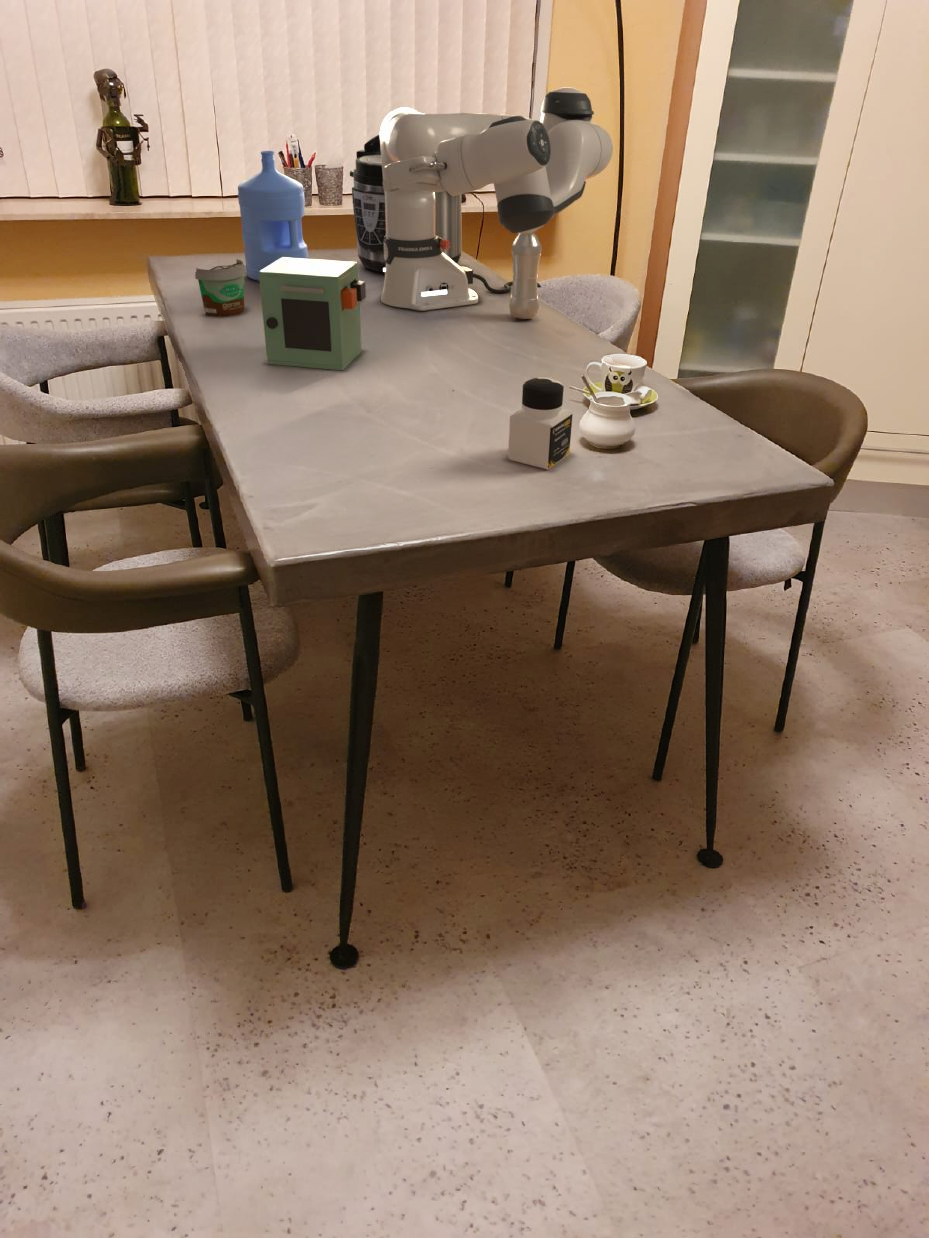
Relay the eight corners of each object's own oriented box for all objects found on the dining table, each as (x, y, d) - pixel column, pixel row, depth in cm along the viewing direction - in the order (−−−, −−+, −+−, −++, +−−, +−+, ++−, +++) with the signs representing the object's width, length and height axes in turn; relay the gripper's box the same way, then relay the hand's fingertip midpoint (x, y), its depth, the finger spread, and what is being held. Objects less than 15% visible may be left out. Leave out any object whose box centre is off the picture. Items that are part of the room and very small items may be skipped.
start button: (357, 305, 178) (356, 288, 176) (352, 309, 175) (351, 292, 174) (341, 304, 178) (340, 287, 176) (336, 308, 176) (335, 291, 174)
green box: (361, 351, 190) (357, 262, 181) (340, 372, 179) (335, 278, 170) (289, 345, 192) (282, 257, 183) (264, 366, 181) (255, 273, 172)
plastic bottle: (518, 323, 208) (522, 225, 197) (503, 315, 213) (506, 219, 202) (543, 320, 210) (549, 223, 199) (528, 312, 215) (532, 217, 204)
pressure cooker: (338, 257, 257) (331, 124, 240) (436, 249, 267) (436, 121, 250) (374, 283, 234) (369, 139, 217) (480, 274, 244) (483, 135, 227)
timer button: (365, 297, 182) (365, 281, 180) (361, 301, 180) (360, 285, 178) (350, 296, 183) (349, 280, 181) (345, 300, 180) (345, 284, 179)
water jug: (232, 276, 238) (219, 152, 223) (277, 265, 249) (267, 145, 233) (278, 286, 230) (267, 158, 215) (322, 274, 241) (315, 151, 226)
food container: (219, 322, 205) (213, 273, 200) (200, 316, 208) (193, 268, 203) (262, 309, 214) (257, 263, 208) (243, 305, 217) (238, 258, 211)
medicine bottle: (548, 470, 143) (553, 393, 137) (507, 460, 146) (510, 383, 140) (570, 455, 148) (576, 379, 142) (529, 444, 152) (533, 370, 145)
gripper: (435, 183, 158) (363, 203, 164) (480, 189, 175) (414, 207, 181) (428, 142, 156) (355, 163, 162) (474, 151, 174) (407, 171, 179)
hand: (386, 186), depth 172 cm, fingers closed
